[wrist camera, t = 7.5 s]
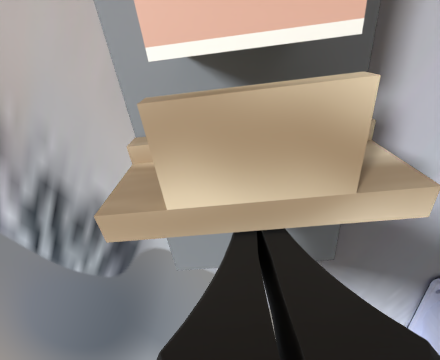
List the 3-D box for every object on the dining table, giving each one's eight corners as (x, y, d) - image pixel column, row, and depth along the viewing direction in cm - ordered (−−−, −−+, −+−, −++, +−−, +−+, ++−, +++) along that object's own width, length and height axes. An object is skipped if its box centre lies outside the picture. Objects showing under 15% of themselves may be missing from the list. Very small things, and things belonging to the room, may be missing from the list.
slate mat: (331, 255, 17) (334, 259, 16) (177, 266, 17) (176, 270, 17) (502, -747, 4) (528, -820, 4) (-70, -556, 5) (-93, -603, 5)
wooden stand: (349, 177, 13) (415, 247, 8) (153, 195, 14) (119, 268, 9) (372, 53, 10) (493, 61, 5) (118, 84, 11) (44, 115, 6)
